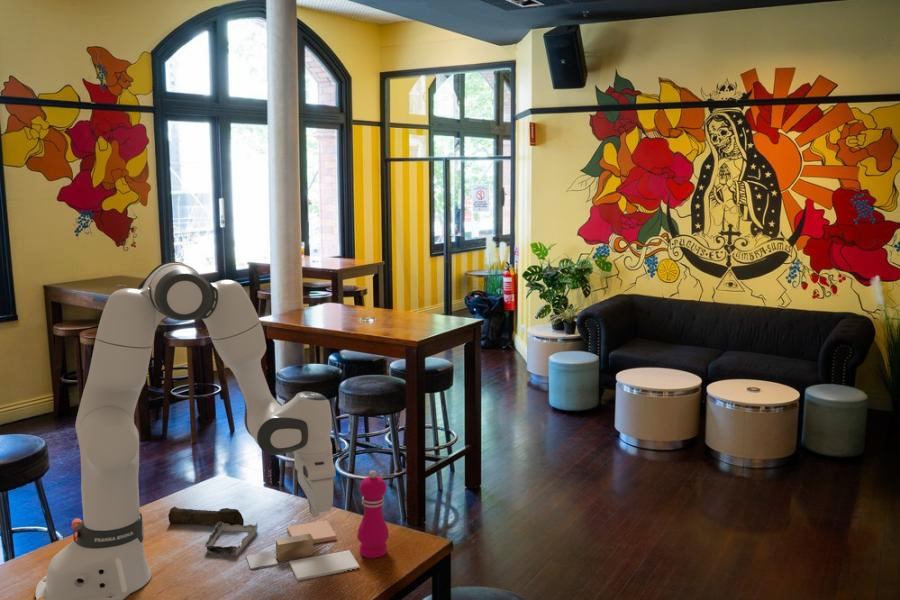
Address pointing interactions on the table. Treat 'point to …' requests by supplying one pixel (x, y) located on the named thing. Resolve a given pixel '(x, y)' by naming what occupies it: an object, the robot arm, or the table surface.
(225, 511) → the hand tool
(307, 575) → the pad
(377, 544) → the pepper mill
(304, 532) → the tile
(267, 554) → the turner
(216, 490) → the table surface
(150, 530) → the table surface
